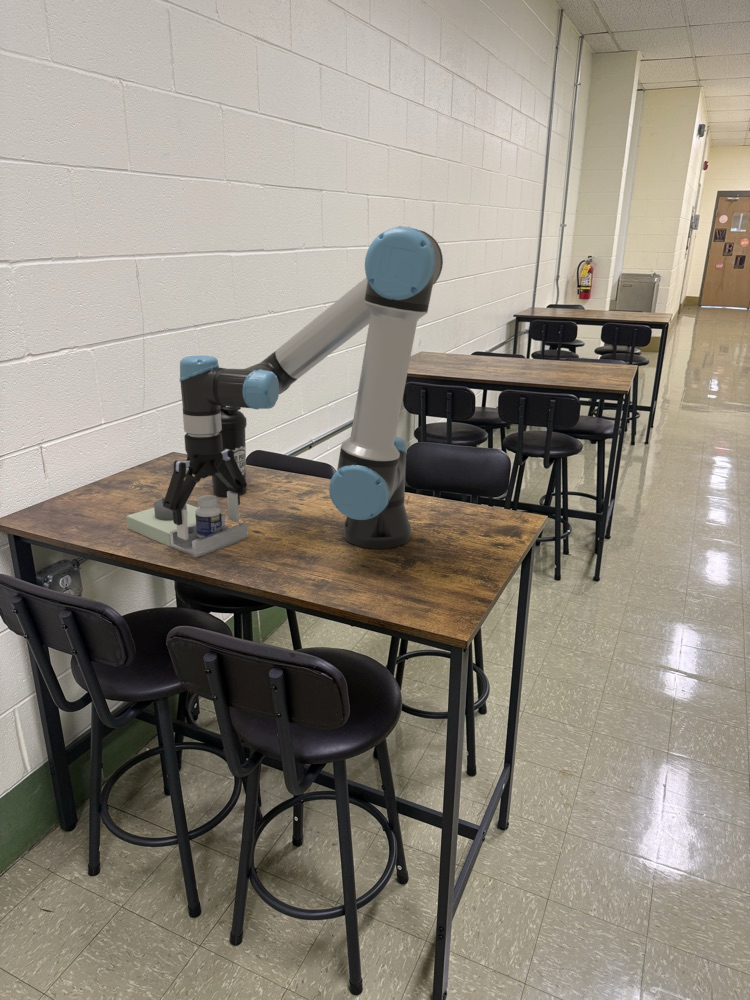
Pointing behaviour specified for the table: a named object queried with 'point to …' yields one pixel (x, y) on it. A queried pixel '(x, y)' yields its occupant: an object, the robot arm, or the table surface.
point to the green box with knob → (158, 521)
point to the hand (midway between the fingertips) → (209, 528)
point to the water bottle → (232, 445)
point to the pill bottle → (208, 516)
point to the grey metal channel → (208, 539)
